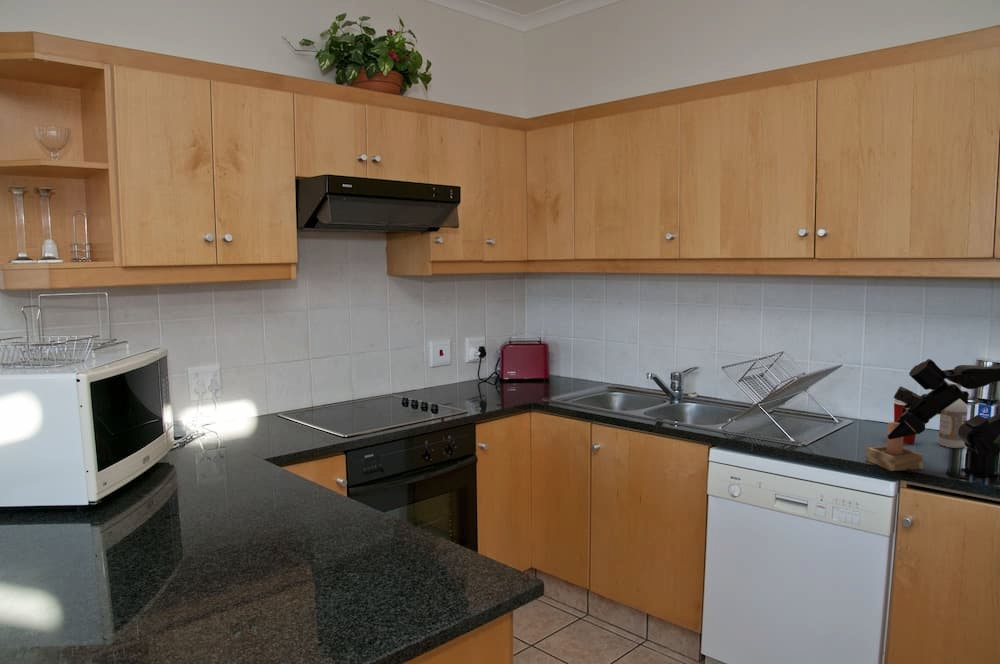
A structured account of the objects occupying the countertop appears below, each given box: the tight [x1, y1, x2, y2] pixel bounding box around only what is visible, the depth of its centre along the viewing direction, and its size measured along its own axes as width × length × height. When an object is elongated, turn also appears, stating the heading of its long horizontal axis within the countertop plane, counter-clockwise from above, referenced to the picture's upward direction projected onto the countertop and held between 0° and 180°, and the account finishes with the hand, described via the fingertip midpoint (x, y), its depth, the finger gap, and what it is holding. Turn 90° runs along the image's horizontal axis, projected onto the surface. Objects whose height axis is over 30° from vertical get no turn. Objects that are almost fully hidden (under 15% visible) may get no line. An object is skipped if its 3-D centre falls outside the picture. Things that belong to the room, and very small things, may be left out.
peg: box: [886, 421, 904, 456], centre depth 201 cm, size 4×4×12 cm
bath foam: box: [938, 381, 968, 449], centre depth 220 cm, size 7×7×20 cm
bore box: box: [865, 445, 924, 472], centre depth 202 cm, size 10×10×4 cm
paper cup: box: [892, 398, 917, 445], centre depth 225 cm, size 8×8×14 cm
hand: (889, 434), depth 202 cm, fingers open, 9 cm apart
